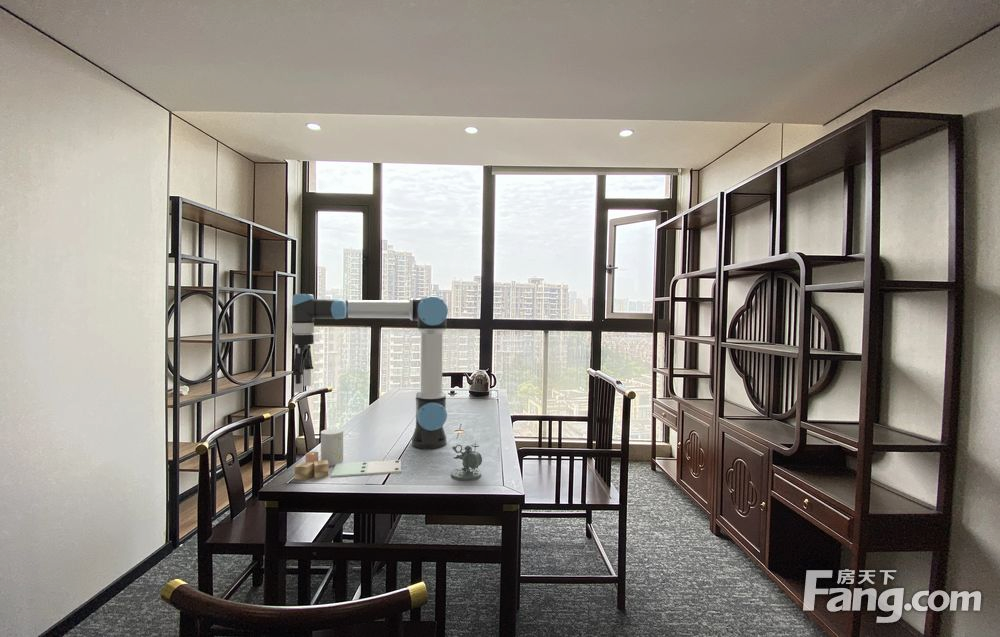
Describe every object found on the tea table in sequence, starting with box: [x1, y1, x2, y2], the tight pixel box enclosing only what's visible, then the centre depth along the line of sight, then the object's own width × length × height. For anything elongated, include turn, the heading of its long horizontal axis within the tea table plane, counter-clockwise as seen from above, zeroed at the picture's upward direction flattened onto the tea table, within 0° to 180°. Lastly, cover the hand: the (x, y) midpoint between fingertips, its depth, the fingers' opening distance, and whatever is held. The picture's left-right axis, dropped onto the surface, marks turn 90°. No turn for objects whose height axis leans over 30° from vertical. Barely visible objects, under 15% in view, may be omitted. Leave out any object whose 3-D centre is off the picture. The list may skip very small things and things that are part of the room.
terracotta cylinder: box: [304, 451, 319, 463], centre depth 166 cm, size 4×4×6 cm
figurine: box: [451, 442, 483, 482], centre depth 161 cm, size 11×11×12 cm
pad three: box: [330, 461, 370, 478], centre depth 166 cm, size 12×12×1 cm
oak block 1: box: [294, 461, 314, 481], centre depth 158 cm, size 4×4×4 cm
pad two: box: [366, 459, 402, 476], centre depth 168 cm, size 12×12×1 cm
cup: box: [320, 427, 344, 467], centre depth 174 cm, size 8×8×12 cm
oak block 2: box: [313, 459, 329, 479], centre depth 161 cm, size 4×4×4 cm
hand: (303, 389), depth 174 cm, fingers open, 13 cm apart
